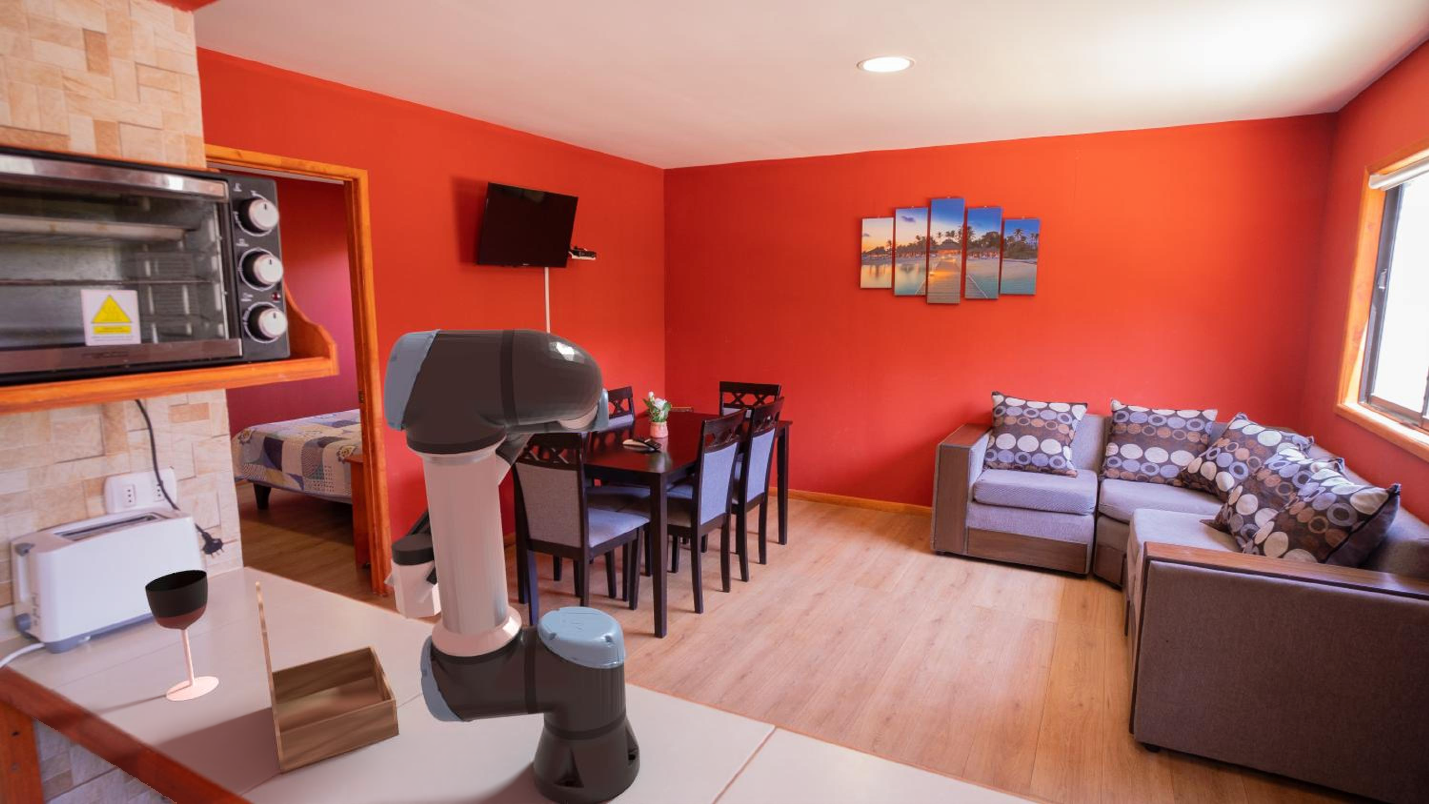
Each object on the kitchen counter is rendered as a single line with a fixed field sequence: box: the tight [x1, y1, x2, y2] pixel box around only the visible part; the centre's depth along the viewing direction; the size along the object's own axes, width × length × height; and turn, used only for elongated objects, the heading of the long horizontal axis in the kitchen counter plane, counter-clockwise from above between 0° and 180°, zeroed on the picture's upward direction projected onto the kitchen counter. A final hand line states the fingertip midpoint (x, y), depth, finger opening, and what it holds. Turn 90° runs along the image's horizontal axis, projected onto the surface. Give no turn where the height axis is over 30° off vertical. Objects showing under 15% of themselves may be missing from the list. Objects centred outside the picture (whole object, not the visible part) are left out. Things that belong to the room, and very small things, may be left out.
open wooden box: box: [255, 581, 400, 775], centre depth 116 cm, size 20×16×22 cm
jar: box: [390, 533, 441, 620], centre depth 125 cm, size 9×8×12 cm
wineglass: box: [144, 569, 220, 702], centre depth 126 cm, size 8×9×20 cm
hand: (402, 592), depth 123 cm, fingers closed on jar, 8 cm apart
